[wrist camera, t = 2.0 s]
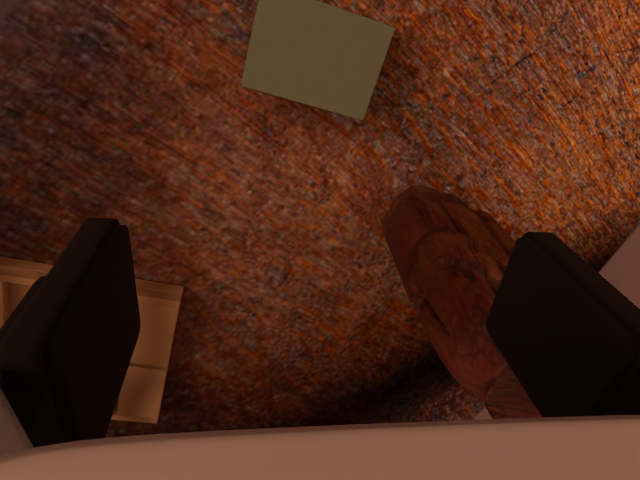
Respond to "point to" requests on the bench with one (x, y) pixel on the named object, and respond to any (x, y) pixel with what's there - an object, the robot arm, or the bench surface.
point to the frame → (151, 348)
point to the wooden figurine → (457, 290)
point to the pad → (316, 55)
